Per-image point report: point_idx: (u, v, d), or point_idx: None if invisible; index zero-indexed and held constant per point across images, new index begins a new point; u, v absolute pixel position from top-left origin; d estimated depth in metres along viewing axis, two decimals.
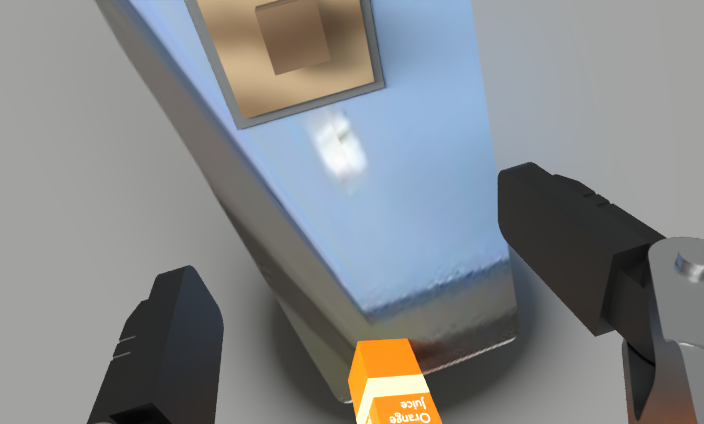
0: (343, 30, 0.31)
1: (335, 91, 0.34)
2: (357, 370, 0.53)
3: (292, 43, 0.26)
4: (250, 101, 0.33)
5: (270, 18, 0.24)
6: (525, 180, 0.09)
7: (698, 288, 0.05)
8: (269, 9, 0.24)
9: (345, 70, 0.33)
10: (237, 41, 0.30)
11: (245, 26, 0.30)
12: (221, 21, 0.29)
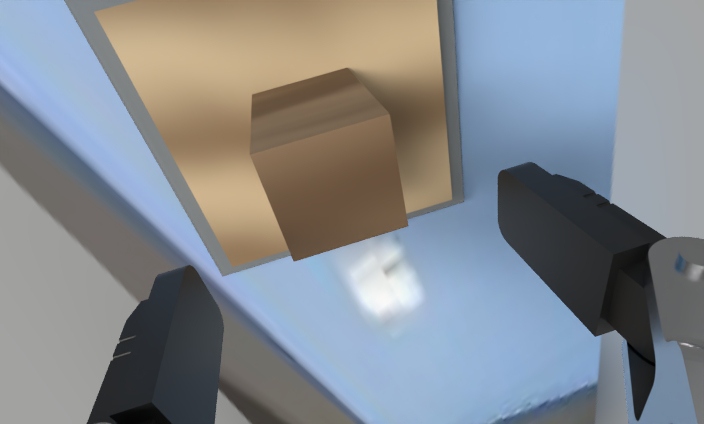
0: (409, 126, 0.17)
1: None
2: None
3: (331, 205, 0.12)
4: (243, 241, 0.19)
5: (285, 164, 0.11)
6: (525, 180, 0.09)
7: (698, 288, 0.05)
8: (283, 146, 0.10)
9: (407, 186, 0.19)
10: (218, 154, 0.16)
11: (233, 129, 0.16)
12: (187, 123, 0.15)
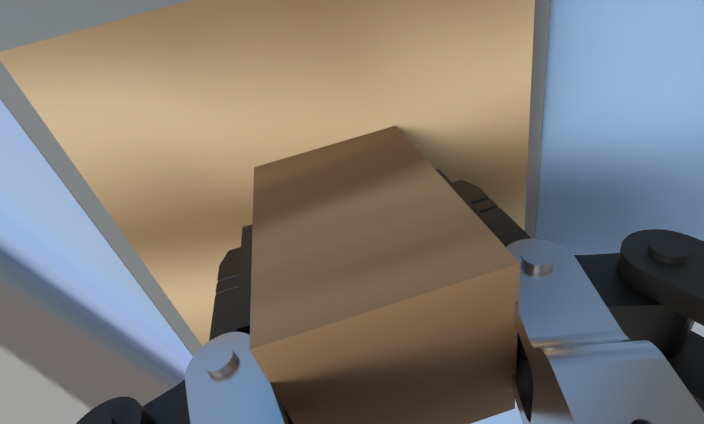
0: None
1: None
2: None
3: (394, 400, 0.07)
4: None
5: (317, 356, 0.06)
6: None
7: (528, 284, 0.06)
8: (316, 331, 0.05)
9: None
10: (205, 247, 0.11)
11: (226, 214, 0.11)
12: (157, 210, 0.10)
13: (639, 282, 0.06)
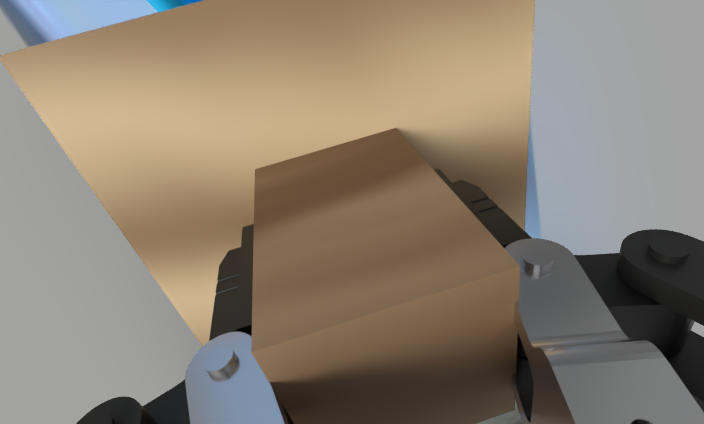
0: None
1: None
2: None
3: (395, 402, 0.07)
4: None
5: (318, 358, 0.06)
6: None
7: (528, 284, 0.06)
8: (317, 334, 0.05)
9: None
10: (206, 249, 0.11)
11: (227, 216, 0.11)
12: (159, 211, 0.10)
13: (639, 282, 0.06)
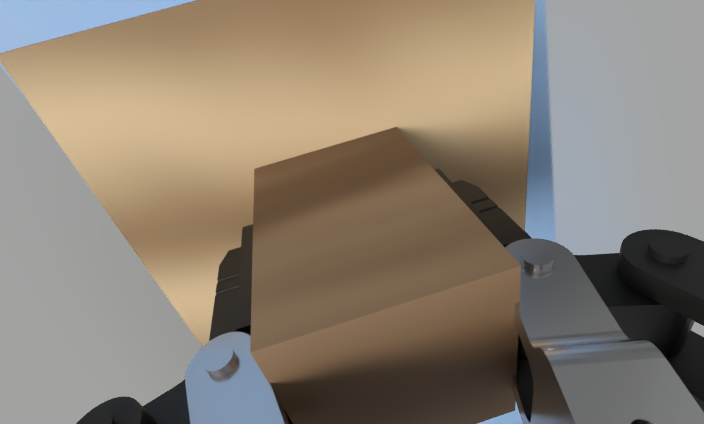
0: None
1: None
2: None
3: (395, 403, 0.07)
4: None
5: (317, 358, 0.06)
6: None
7: (528, 284, 0.06)
8: (317, 334, 0.05)
9: None
10: (205, 248, 0.11)
11: (226, 215, 0.11)
12: (158, 211, 0.10)
13: (639, 282, 0.06)
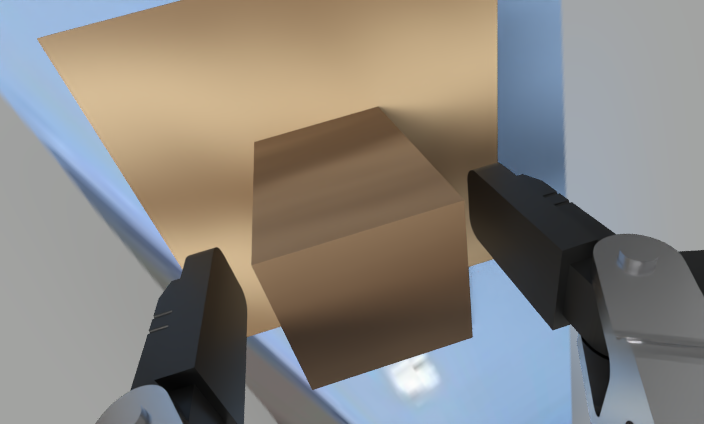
0: (452, 176, 0.14)
1: None
2: None
3: (369, 321, 0.08)
4: None
5: (304, 274, 0.07)
6: (490, 180, 0.09)
7: (634, 282, 0.06)
8: (303, 252, 0.07)
9: None
10: (211, 214, 0.13)
11: (229, 184, 0.12)
12: (169, 179, 0.12)
13: None
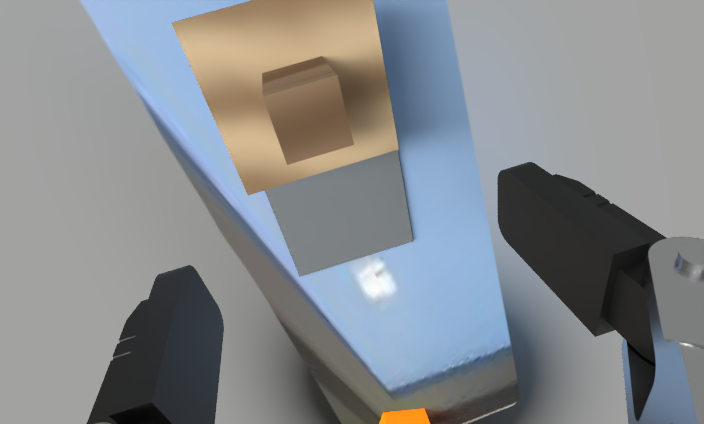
0: (364, 95, 0.27)
1: (354, 161, 0.29)
2: None
3: (308, 129, 0.21)
4: (255, 176, 0.28)
5: (281, 102, 0.20)
6: (525, 180, 0.09)
7: (698, 288, 0.05)
8: (280, 92, 0.20)
9: (366, 138, 0.28)
10: (240, 112, 0.26)
11: (250, 95, 0.25)
12: (222, 91, 0.25)
13: None
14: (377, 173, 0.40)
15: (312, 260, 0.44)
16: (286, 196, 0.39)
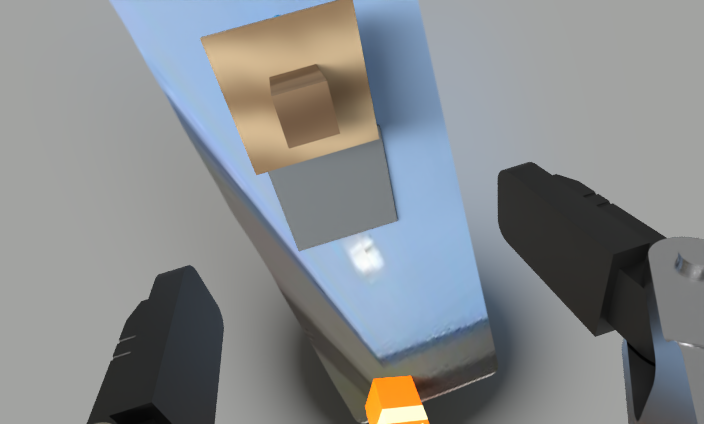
0: (350, 95, 0.33)
1: (342, 148, 0.36)
2: (373, 400, 0.70)
3: (304, 121, 0.28)
4: (262, 159, 0.35)
5: (285, 101, 0.27)
6: (525, 180, 0.09)
7: (698, 288, 0.05)
8: (284, 93, 0.26)
9: (352, 129, 0.35)
10: (251, 107, 0.32)
11: (259, 94, 0.32)
12: (237, 91, 0.31)
13: None
14: (365, 161, 0.46)
15: (309, 237, 0.51)
16: (287, 180, 0.46)
